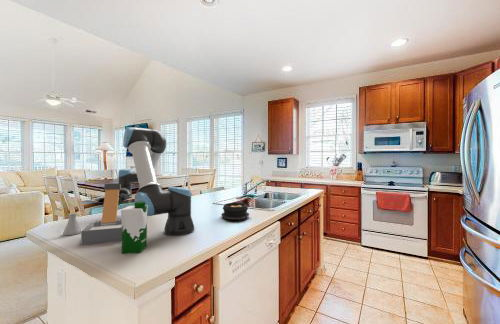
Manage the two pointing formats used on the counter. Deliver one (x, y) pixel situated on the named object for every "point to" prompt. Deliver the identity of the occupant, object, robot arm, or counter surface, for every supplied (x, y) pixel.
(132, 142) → the robot arm
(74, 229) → the flask
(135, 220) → the milk carton
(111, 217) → the lever
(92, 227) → the switch box
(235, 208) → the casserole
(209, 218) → the counter surface
